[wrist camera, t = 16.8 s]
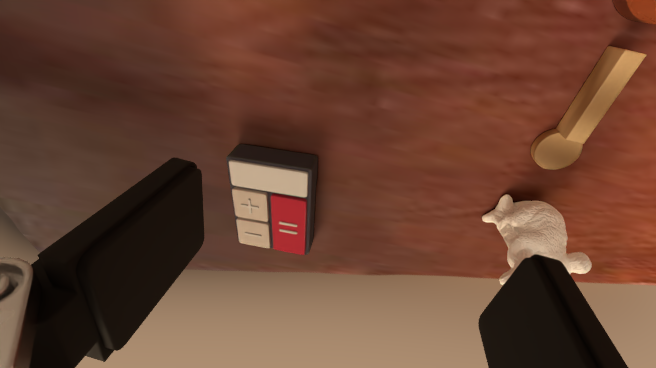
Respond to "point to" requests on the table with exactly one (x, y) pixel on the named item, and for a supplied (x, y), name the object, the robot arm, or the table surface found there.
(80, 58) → the table surface
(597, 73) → the wooden spoon
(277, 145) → the table surface
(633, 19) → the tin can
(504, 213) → the white squirrel figurine
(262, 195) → the calculator
